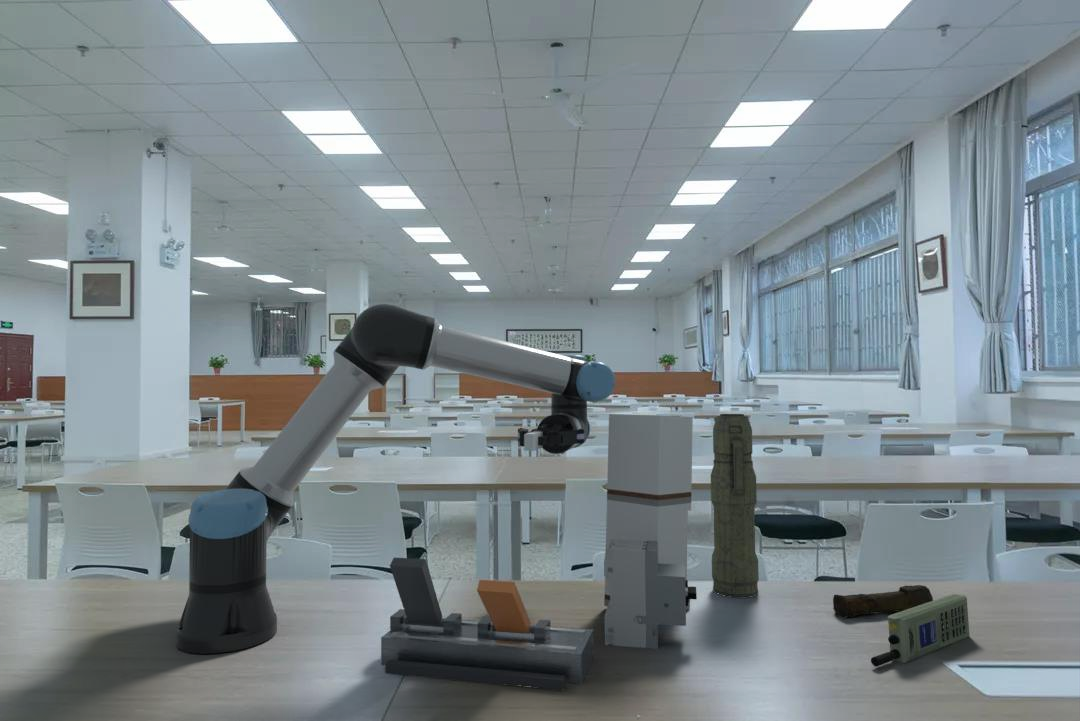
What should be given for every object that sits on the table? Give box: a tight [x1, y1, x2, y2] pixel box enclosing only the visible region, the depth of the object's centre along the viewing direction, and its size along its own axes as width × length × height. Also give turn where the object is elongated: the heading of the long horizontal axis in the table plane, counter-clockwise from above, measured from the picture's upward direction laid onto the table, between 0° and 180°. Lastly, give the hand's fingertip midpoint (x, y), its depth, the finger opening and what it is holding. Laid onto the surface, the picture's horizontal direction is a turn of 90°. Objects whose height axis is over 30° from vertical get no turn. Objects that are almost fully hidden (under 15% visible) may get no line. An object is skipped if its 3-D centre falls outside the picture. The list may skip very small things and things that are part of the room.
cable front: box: [384, 660, 566, 691], centre depth 97 cm, size 26×1×1 cm, turn 76°
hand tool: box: [832, 584, 934, 619], centre depth 124 cm, size 19×4×5 cm, turn 98°
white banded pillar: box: [603, 413, 694, 611], centre depth 129 cm, size 11×11×35 cm
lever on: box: [389, 557, 444, 627], centre depth 104 cm, size 6×2×13 cm
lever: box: [476, 579, 535, 634], centre depth 99 cm, size 6×2×13 cm
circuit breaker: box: [603, 539, 698, 649], centre depth 113 cm, size 8×14×15 cm, turn 78°
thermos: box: [710, 413, 760, 599], centre depth 139 cm, size 9×12×35 cm
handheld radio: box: [870, 593, 970, 667], centre depth 107 cm, size 7×3×25 cm
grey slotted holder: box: [380, 608, 594, 684], centre depth 104 cm, size 30×10×6 cm, turn 76°
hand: (528, 442), depth 114 cm, fingers closed
